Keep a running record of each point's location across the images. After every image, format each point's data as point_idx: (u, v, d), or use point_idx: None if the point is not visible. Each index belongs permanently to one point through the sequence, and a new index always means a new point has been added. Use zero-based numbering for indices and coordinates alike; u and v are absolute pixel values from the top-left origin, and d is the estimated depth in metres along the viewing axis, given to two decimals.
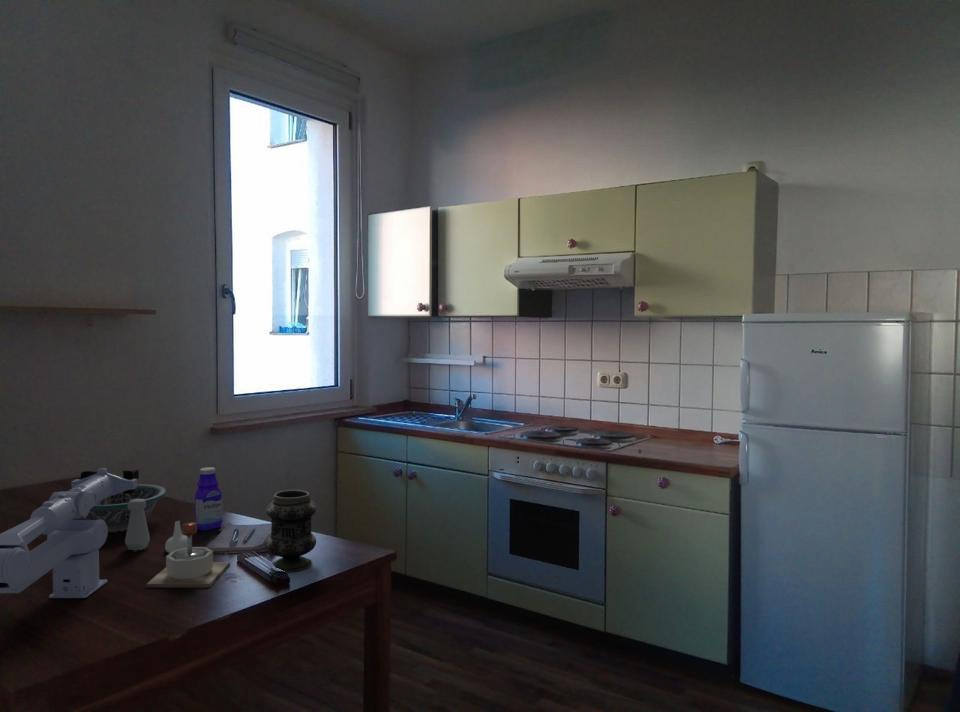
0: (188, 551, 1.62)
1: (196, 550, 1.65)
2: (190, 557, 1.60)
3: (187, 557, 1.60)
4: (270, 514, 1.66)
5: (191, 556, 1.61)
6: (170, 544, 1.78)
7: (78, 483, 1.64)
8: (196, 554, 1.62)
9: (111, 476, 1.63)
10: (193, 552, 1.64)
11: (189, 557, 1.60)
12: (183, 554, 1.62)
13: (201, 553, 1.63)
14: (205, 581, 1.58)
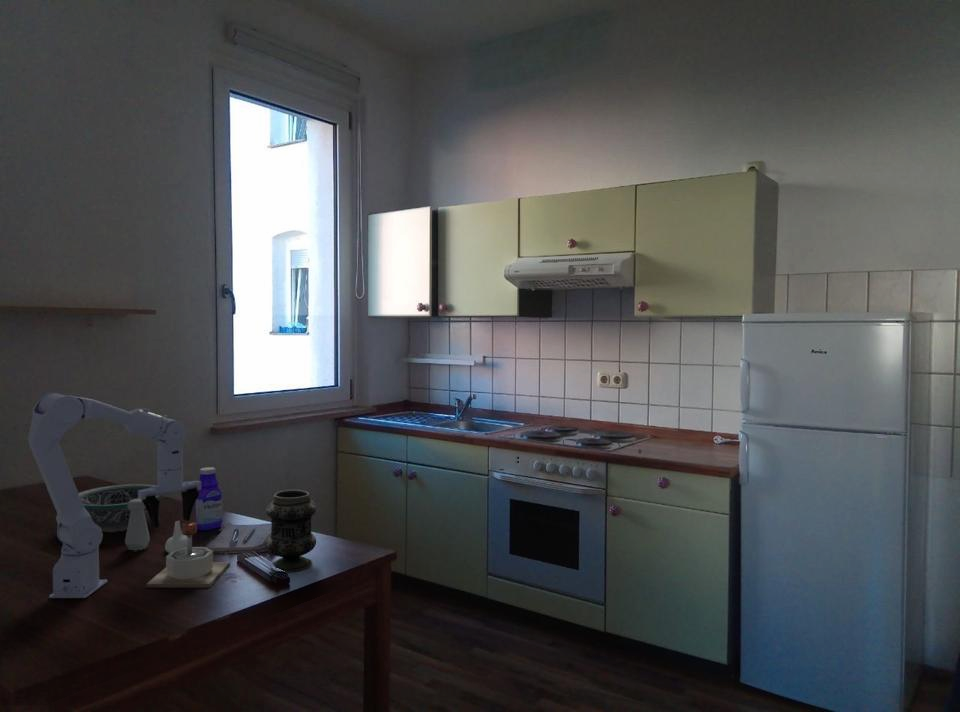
0: (188, 551, 1.62)
1: (196, 550, 1.65)
2: (190, 557, 1.60)
3: (187, 557, 1.60)
4: (270, 514, 1.66)
5: (191, 556, 1.61)
6: (170, 544, 1.78)
7: None
8: (196, 554, 1.62)
9: None
10: (193, 552, 1.64)
11: (189, 557, 1.60)
12: (183, 554, 1.62)
13: (201, 553, 1.63)
14: (205, 581, 1.58)
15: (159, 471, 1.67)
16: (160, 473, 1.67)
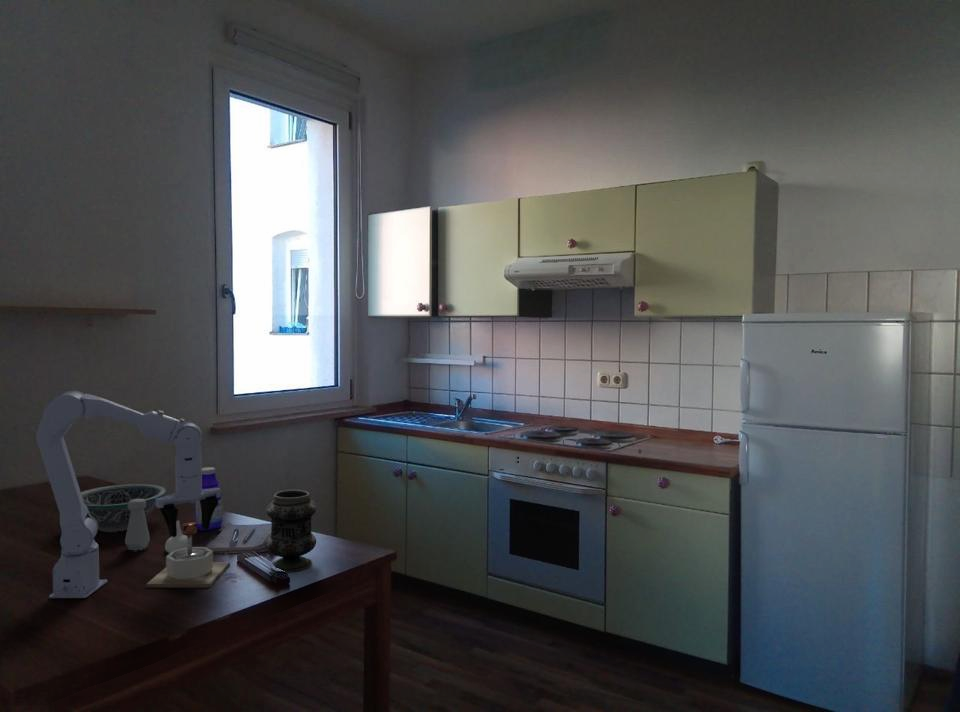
0: (188, 551, 1.62)
1: (196, 550, 1.65)
2: (190, 557, 1.60)
3: (187, 557, 1.60)
4: (270, 514, 1.66)
5: (191, 556, 1.61)
6: (170, 544, 1.78)
7: None
8: (196, 554, 1.62)
9: None
10: (193, 552, 1.64)
11: (189, 557, 1.60)
12: (183, 554, 1.62)
13: (201, 553, 1.63)
14: (205, 581, 1.58)
15: (177, 478, 1.60)
16: (178, 480, 1.59)
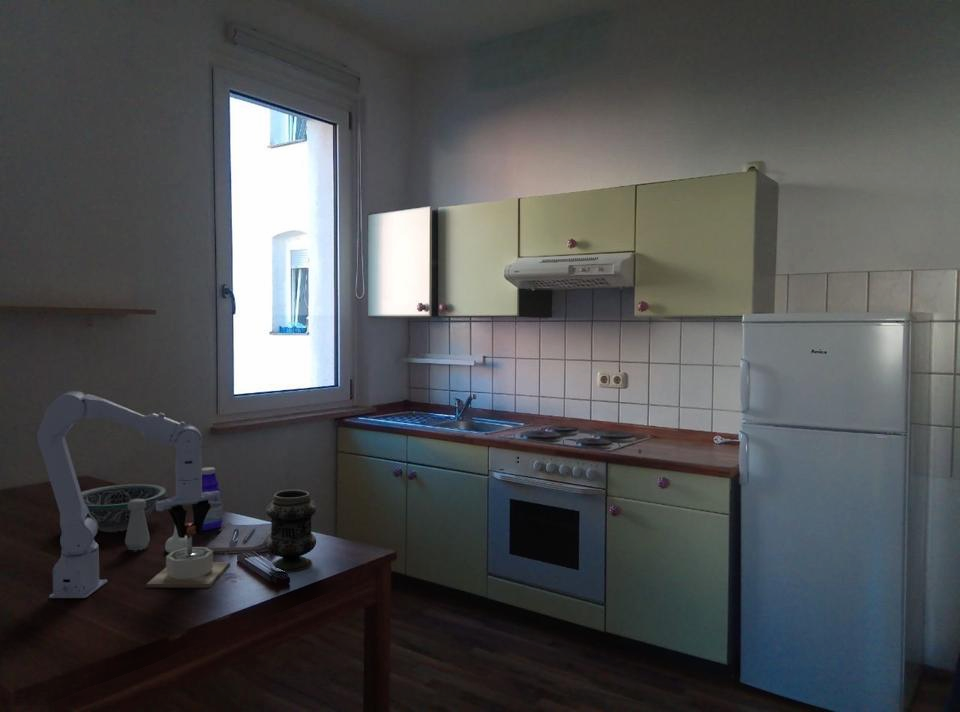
0: (188, 551, 1.62)
1: (196, 550, 1.65)
2: (190, 557, 1.60)
3: (187, 557, 1.60)
4: (270, 514, 1.66)
5: (191, 556, 1.61)
6: (170, 544, 1.78)
7: None
8: (196, 554, 1.62)
9: None
10: (193, 552, 1.64)
11: (189, 557, 1.60)
12: (183, 554, 1.62)
13: (201, 553, 1.63)
14: (205, 581, 1.58)
15: (177, 481, 1.60)
16: (178, 483, 1.59)
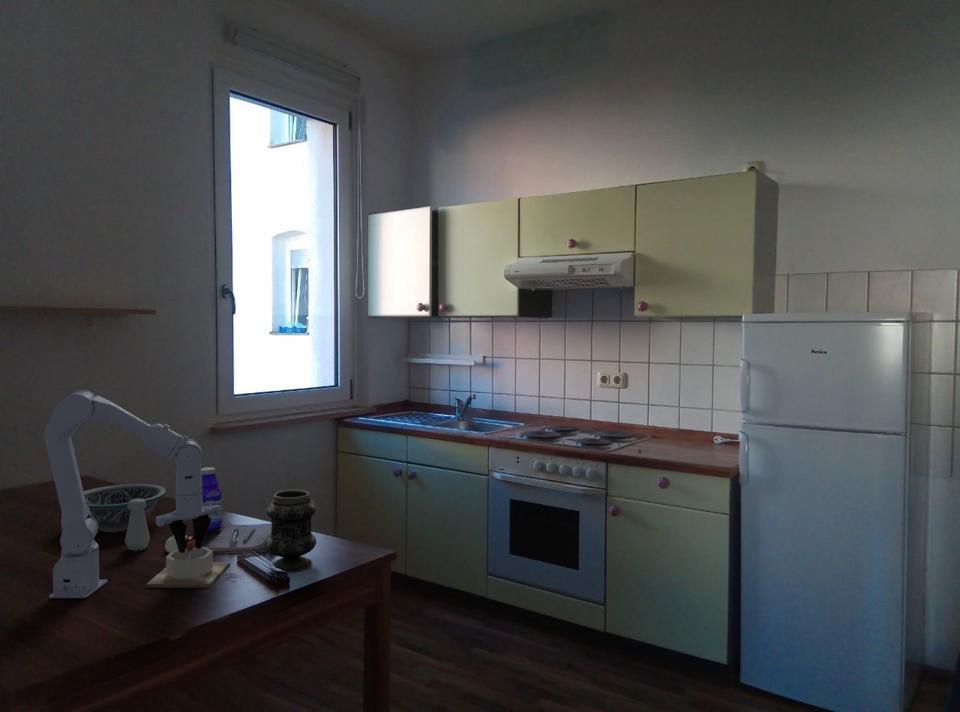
0: None
1: None
2: None
3: None
4: (270, 514, 1.66)
5: None
6: (170, 543, 1.78)
7: None
8: None
9: None
10: None
11: None
12: None
13: None
14: (205, 581, 1.58)
15: (178, 496, 1.60)
16: (179, 498, 1.60)
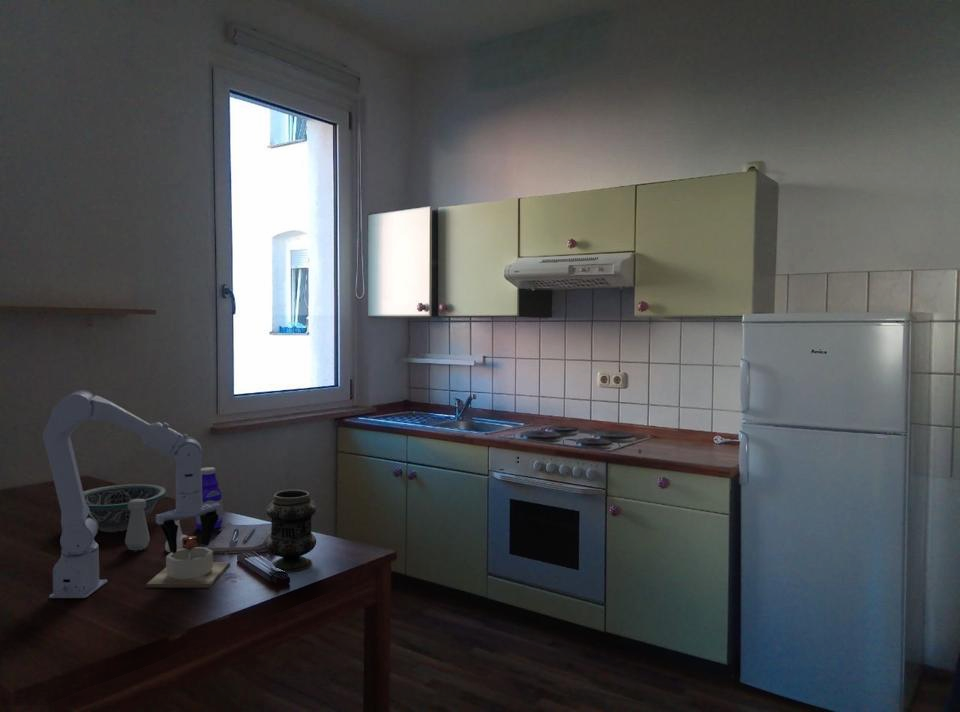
0: None
1: None
2: None
3: None
4: (270, 514, 1.66)
5: None
6: None
7: None
8: None
9: None
10: None
11: None
12: None
13: None
14: (205, 581, 1.58)
15: (178, 494, 1.60)
16: (179, 496, 1.60)
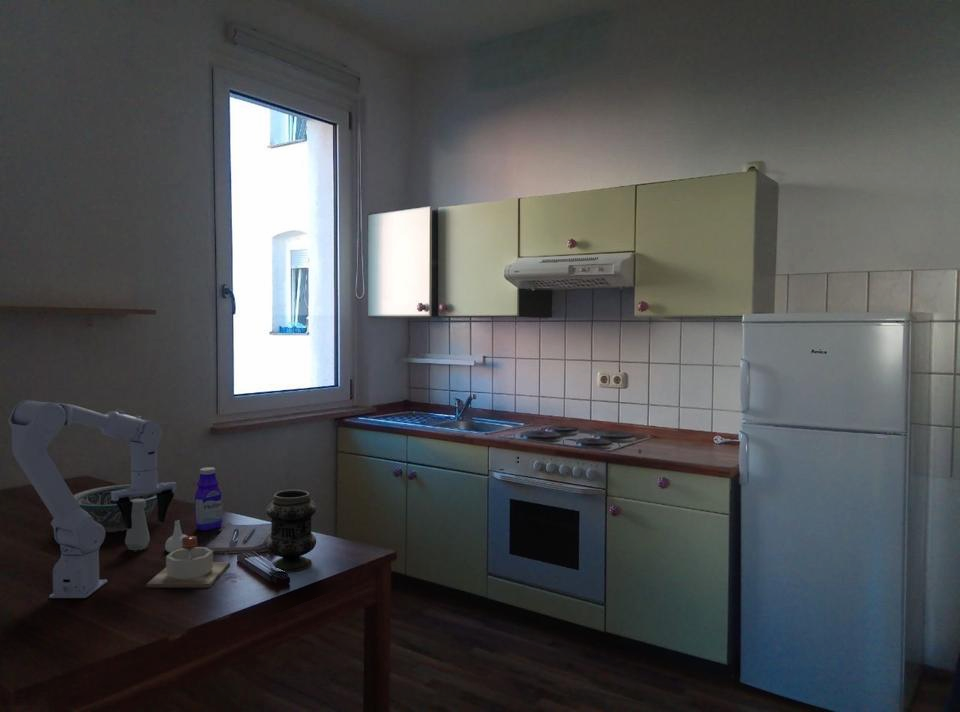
0: None
1: None
2: None
3: None
4: (270, 514, 1.66)
5: None
6: (170, 543, 1.79)
7: None
8: None
9: None
10: None
11: None
12: None
13: None
14: (205, 581, 1.58)
15: (133, 472, 1.65)
16: (134, 474, 1.65)
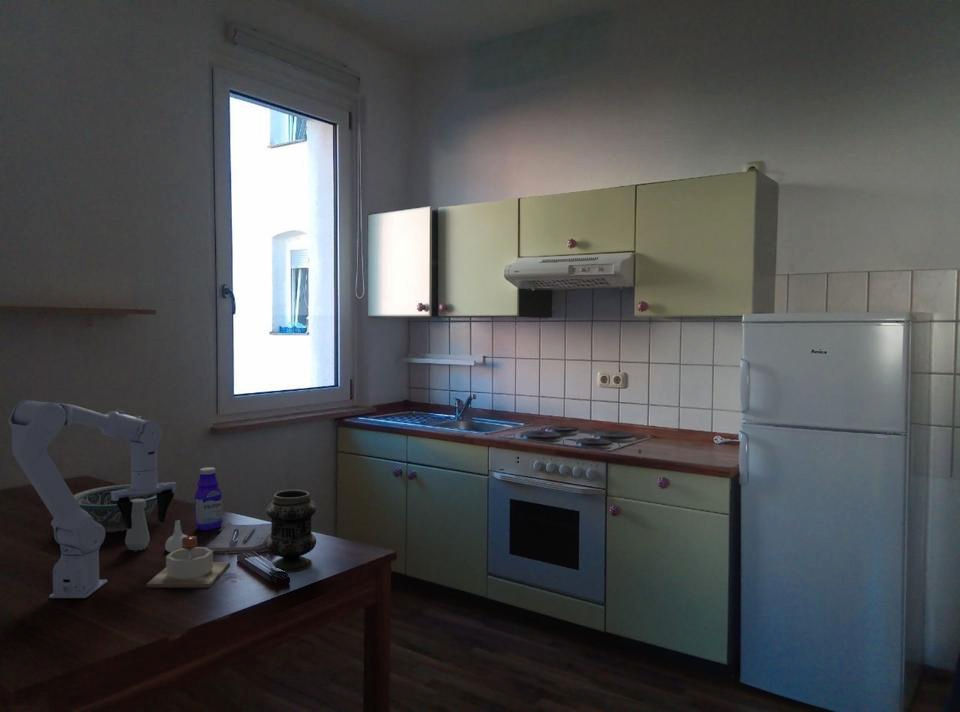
0: None
1: None
2: None
3: None
4: (270, 514, 1.66)
5: None
6: (170, 543, 1.79)
7: None
8: None
9: None
10: None
11: None
12: None
13: None
14: (205, 581, 1.58)
15: (133, 472, 1.65)
16: (134, 474, 1.65)
